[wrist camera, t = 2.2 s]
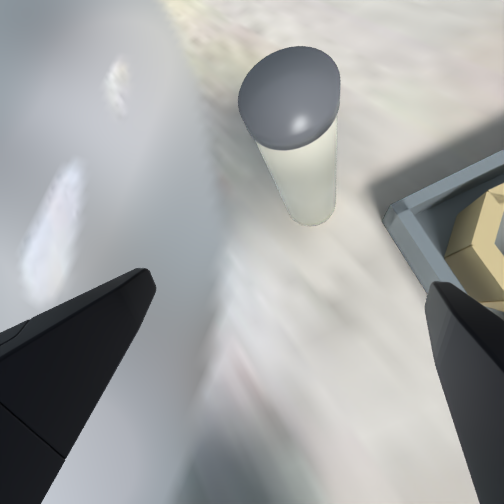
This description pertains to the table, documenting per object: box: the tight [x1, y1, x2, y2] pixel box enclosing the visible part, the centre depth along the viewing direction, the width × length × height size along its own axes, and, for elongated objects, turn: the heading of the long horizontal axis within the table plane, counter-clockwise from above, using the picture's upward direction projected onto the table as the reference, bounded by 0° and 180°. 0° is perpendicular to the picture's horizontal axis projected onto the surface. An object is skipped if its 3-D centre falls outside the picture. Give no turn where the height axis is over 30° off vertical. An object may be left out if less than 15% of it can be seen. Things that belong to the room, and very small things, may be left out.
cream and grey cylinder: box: [238, 46, 340, 226], centre depth 17 cm, size 4×4×12 cm
